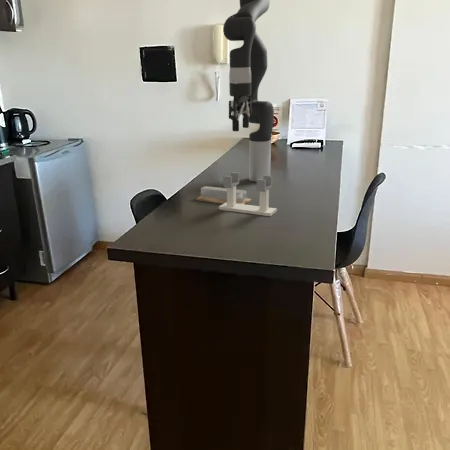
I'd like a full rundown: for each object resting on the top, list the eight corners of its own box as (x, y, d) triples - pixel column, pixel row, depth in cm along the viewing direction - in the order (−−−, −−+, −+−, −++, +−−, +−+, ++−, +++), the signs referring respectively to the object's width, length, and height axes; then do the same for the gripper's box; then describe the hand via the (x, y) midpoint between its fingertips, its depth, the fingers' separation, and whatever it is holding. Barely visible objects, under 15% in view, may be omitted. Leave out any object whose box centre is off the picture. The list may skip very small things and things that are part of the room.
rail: (205, 195, 172) (205, 186, 171) (246, 199, 165) (246, 190, 164) (200, 197, 169) (200, 188, 168) (242, 202, 162) (242, 192, 161)
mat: (206, 194, 175) (205, 193, 174) (251, 200, 167) (251, 198, 167) (195, 200, 168) (195, 198, 168) (242, 206, 160) (242, 204, 160)
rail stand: (226, 204, 162) (226, 171, 158) (277, 211, 154) (278, 176, 150) (218, 209, 156) (217, 175, 152) (270, 216, 148) (271, 180, 144)
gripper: (239, 80, 162) (239, 126, 168) (221, 82, 150) (222, 131, 156) (258, 80, 159) (258, 127, 165) (241, 82, 147) (242, 133, 153)
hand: (240, 129), depth 160 cm, fingers open, 8 cm apart
